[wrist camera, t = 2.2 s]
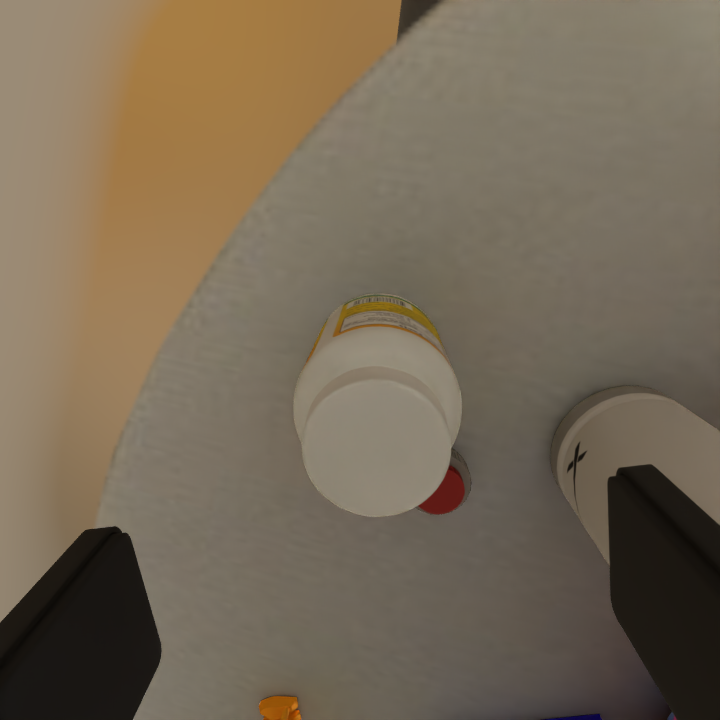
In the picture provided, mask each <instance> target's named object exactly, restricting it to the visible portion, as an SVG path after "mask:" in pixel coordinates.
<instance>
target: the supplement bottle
mask: <svg viewBox="0 0 720 720" xmlns="http://www.w3.org/2000/svg"><path fill="white" fill-rule="evenodd" d="M293 415H294V422H295V427H296V431H297V434H298V436H299V439H300V441H301V443H302V458H303V463H304V466H305V469H306V471H307V473H308V476H309V478H310V479H311V481H312V483H313V484H314V486H315V487H316V488H317V489H318V491H319V492H320V493H321V494H322V495H323V496H324V497H325V498H326V499H328V500H329V501H330V502H332V503H333V504H335V505H336V506H338V507H340V508H342V509H344V510H346V511H349V512H351V513H355V514H358V515H362V516H371V517H384V516H392V515H397V514H400V513H403V512H406V511H408V510H411V509H413V508H415V507H416V506H418V505H420V504H421V503H423V502H424V501H425V500H427V499H428V498H429V497H430V496H431V495H432V494H433V493H434V492H435V491H436V490H437V488H438V487H439V485H440V484H441V482H442V481H443V479H444V477H445V475H446V472H447V470H448V467H449V463H450V457H451V448H452V446H453V444H454V442H455V440H456V437H457V435H458V431H459V428H460V424H461V417H462V399H461V393H460V388H459V384H458V381H457V379H456V376H455V373H454V371H453V369H452V366H451V364H450V362H449V359H448V357H447V354H446V352H445V350H444V348H443V345H442V343H441V340H440V337H439V335H438V332H437V330H436V328H435V327H434V325H433V323H432V322H431V320H430V319H429V318H428V316H427V315H426V314H425V313H424V312H423V311H422V310H421V309H420V308H419V307H417V306H416V305H414V304H413V303H411V302H410V301H408V300H406V299H404V298H401V297H398V296H395V295H390V294H382V293H374V294H366V295H362V296H359V297H356V298H353V299H351V300H349V301H347V302H345V303H344V304H342V305H341V306H340V307H338V308H337V309H336V310H335V311H334V312H333V313H332V314H331V315H330V316H329V318H328V319H327V321H326V322H325V324H324V325H323V327H322V329H321V331H320V333H319V335H318V337H317V340H316V342H315V344H314V347H313V349H312V351H311V353H310V355H309V357H308V359H307V361H306V364H305V366H304V367H303V369H302V372H301V374H300V376H299V379H298V382H297V385H296V389H295V393H294V400H293Z"/></svg>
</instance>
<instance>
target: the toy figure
mask: <svg viewBox="0 0 720 720" xmlns="http://www.w3.org/2000/svg"><path fill="white" fill-rule="evenodd" d="M297 708H298V701H297V697H285V696H273V697H269V698H266V699H264V700H262V701H261V702H260V704H259V710H260V714H262V715H263V716H264V719H263V720H301V714H300V711H299V710H295V709H297Z"/></svg>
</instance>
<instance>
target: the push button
mask: <svg viewBox="0 0 720 720" xmlns="http://www.w3.org/2000/svg"><path fill="white" fill-rule="evenodd" d="M470 491H471V478H470V474H469V471H468V468H467V465H466V462H465V461H464V459H463V458H462V457H461V455H460V454H459V453H458V452H456V451H455V450H453V449H452V448H451V457H450V463H449V467H448V470H447V472H446V475H445V477H444V479H443V481H442V482H441V484H440V485H439V487H438V488H437V490H436V491H435V492H434V493H433V494H432V495H431V496H430V497H429V498H428V499H427V500H425V501H424V502H423V503H421V504H420V505H418V506H416V507H415V508H416V509H417V510H420V511H422V512H425V513H427V514H431V515H433V514H436V515H440V514H441V515H442V514H446V513H449V512H452V511H453V510H456V509H457V508H459V507H460V506H461V505H462V504H463V503H464V502H465V500H467V497H468V495H469V493H470Z"/></svg>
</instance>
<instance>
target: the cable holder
mask: <svg viewBox="0 0 720 720" xmlns="http://www.w3.org/2000/svg"><path fill="white" fill-rule="evenodd" d="M543 720H602V718H601V716H600V714H593V715H583V716H573V717H563V718H553V719H543Z"/></svg>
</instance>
